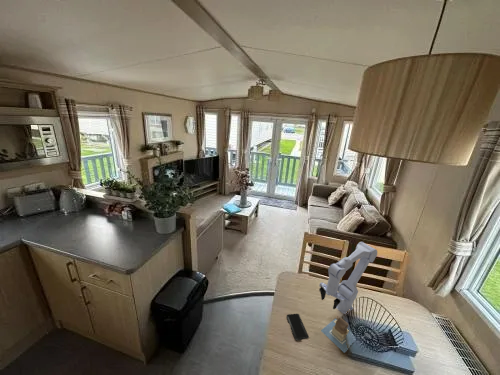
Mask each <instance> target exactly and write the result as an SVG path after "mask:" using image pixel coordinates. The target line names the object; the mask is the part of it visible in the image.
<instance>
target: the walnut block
mask: <svg viewBox="0 0 500 375" xmlns="http://www.w3.org/2000/svg"><path fill="white" fill-rule="evenodd" d="M348 327H349V323H348V322H347V321H346V320H344V319H343V317H339V319H337V321H336V324H335V329H336V330H337V331H339V332H340V333H341V334H343V333H345V332H346V331H347V328H348ZM348 329H349V328H348Z"/></svg>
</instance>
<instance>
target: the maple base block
mask: <svg viewBox="0 0 500 375" xmlns="http://www.w3.org/2000/svg"><path fill="white" fill-rule="evenodd" d="M348 329H349V328H348ZM348 329H347V331H346V332H345V333H343V334H341V333H340V332H339V331H337V330H336V329H335V326H334V327H333V329H332V334H334V335H335V336H336V337H337V338H338V339H339V340H340V341H341V342H342V341H343V340H344V339H345V338H346V335H347V334H348V333H349V330H350V329H349V330H348Z"/></svg>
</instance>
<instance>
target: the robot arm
mask: <svg viewBox="0 0 500 375" xmlns="http://www.w3.org/2000/svg"><path fill="white" fill-rule="evenodd" d="M377 256H378V249H376V248H374V247H372V246H370V245H368V244H367V243H365V242H364V241H360V242H358V243H357V244H356V247H355V250H354V251H353V252H352V253H351V254H350V255H349V256H348V257H347V256H344V257H343V258H342V259H340V260H339V261H337V262H336V263H331V264H330V265H329V267H328V268H327V271H328V280H327V284H326V283H324V282H320V283H319V284H318V286H319V287H320V288H319V290H318V291H319V292H320V297H321V298H320V299H321V300H322V301H323V300H325V298H326V295H327V296H331V297H333V298H335V299H334V300H333V305H332V309H333V310H338V311H339V312H340V313H341V314H343V315H344V314H346V312H347V311H349V309H350V311H349V312H351V311H352V310H353V309H354V307H353V303H354V301H355V300H356V299H357V296H358V293H359V289H358V288H357V284H358V282H359V280H360V279H361V277H362V276H363V274H364V272H365V271H366V269H367V267H368V265H369V264H370V263H374V261H375V259H376V258H377ZM356 261H358V262H357V263H356V265H355V267H354V269H353V270H352V272H351V274H350V275H349V277H348V279H346V280H342V281H341V279H342V278H343V276H344V275H345V274H346V271H348V270H349V269H351V268H352V267H353V263H354V262H356Z"/></svg>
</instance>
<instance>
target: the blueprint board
mask: <svg viewBox="0 0 500 375" xmlns="http://www.w3.org/2000/svg"><path fill="white" fill-rule="evenodd" d="M337 320H338V319H337V318H334V319H333V320H332V321H330V322H329V323H327V324H326V325H325V326H324V327H323V328H322V329H321V330H320V331H321V333H322V334H324V336H326V337H327V338H328V339H329V340H330V341H331V342H332V343H333V344H334V345H335V346H336V347H337V348H338V349H339V350H341V351H342V352H343V353H344V354H345V353H346V352H347V351H348V350H349V349H348V348H347V345H346V340H345V339H344V340H343V341H342V342H341V341H340V340H339V339H338V338H337V337H336V336H335V335H334V334H332V329H333V327H334V326H335V324H336V321H337Z"/></svg>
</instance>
